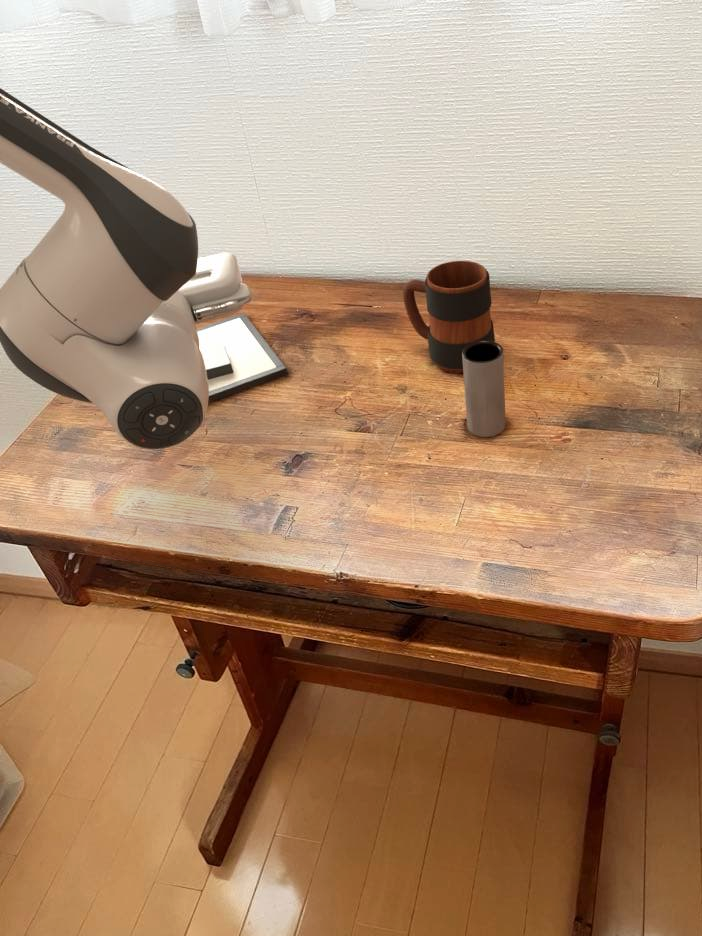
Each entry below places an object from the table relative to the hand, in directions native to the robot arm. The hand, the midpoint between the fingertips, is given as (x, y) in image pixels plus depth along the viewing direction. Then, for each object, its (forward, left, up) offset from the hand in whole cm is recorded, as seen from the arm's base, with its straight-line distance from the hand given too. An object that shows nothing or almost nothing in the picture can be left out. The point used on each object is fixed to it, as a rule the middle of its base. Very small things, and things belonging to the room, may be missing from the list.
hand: (140, 268), depth 89 cm
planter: (+30, -20, -22) cm, 42 cm away
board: (+4, +14, -22) cm, 26 cm away
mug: (+34, -4, -22) cm, 41 cm away
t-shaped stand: (+2, +12, -21) cm, 24 cm away
